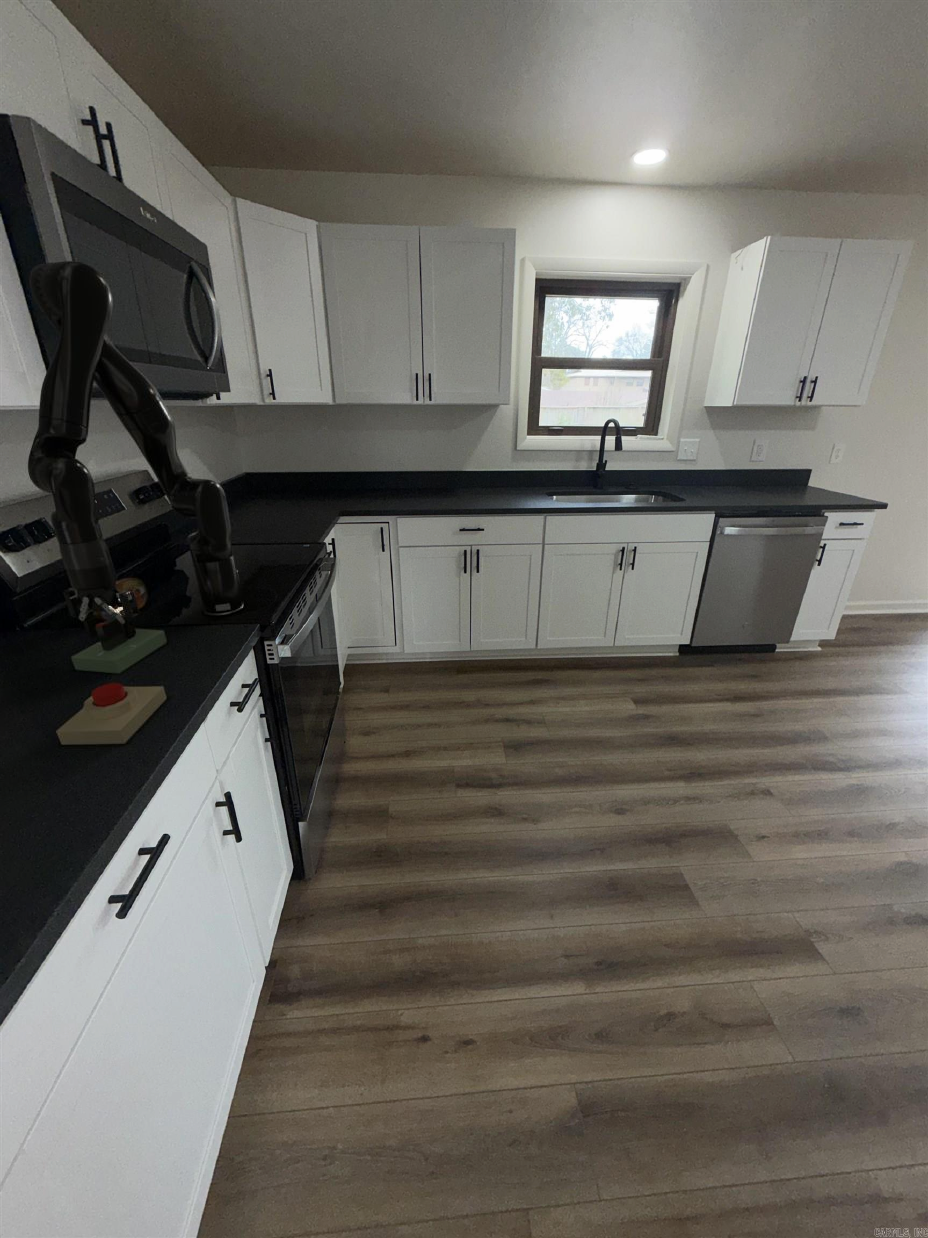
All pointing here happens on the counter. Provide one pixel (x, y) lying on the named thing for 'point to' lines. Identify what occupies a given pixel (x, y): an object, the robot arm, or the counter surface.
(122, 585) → the tin
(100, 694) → the power button
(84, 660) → the panel
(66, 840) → the counter surface
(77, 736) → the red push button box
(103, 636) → the black upright block
